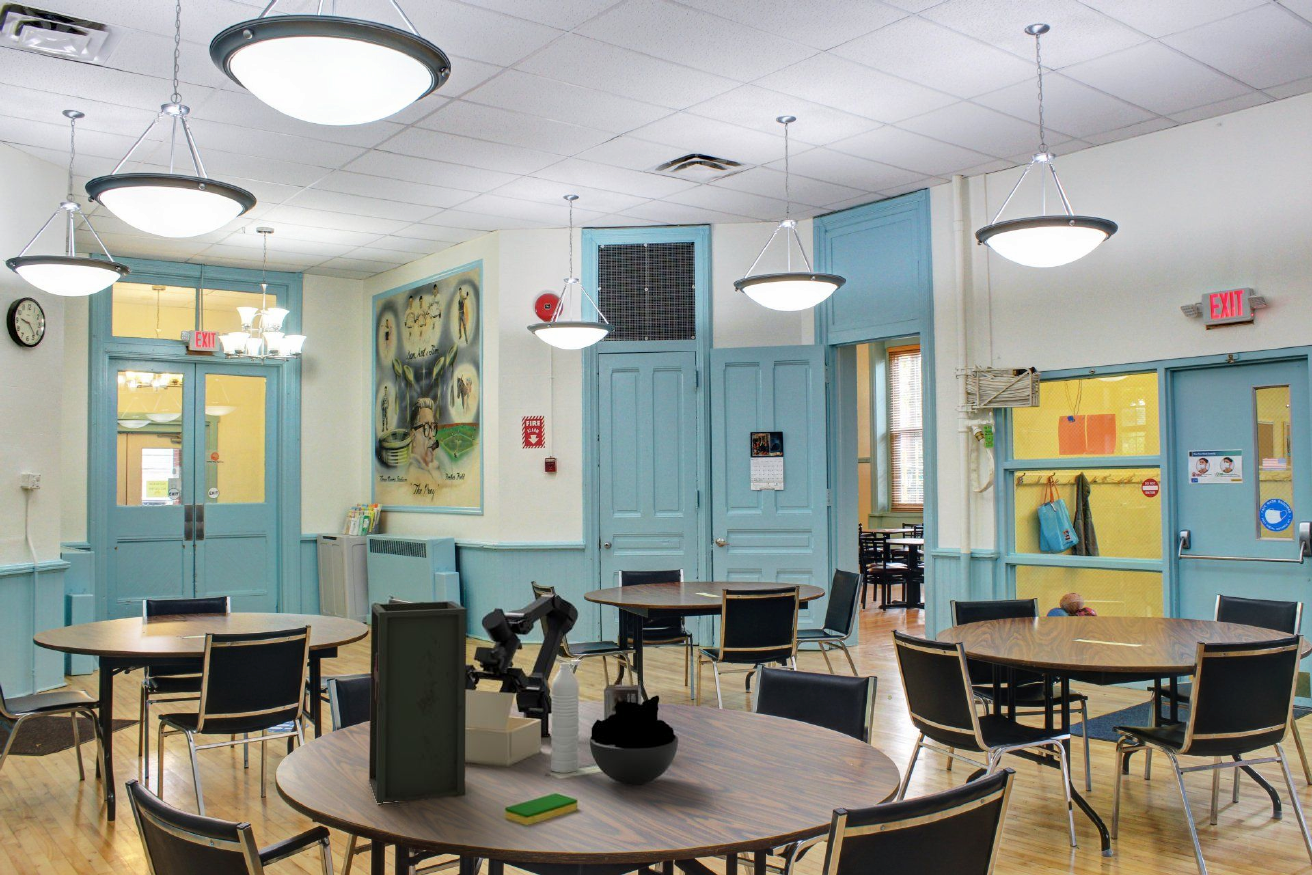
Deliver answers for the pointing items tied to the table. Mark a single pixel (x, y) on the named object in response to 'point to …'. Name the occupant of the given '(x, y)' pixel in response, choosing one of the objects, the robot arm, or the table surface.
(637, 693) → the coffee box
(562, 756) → the water bottle
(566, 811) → the dish sponge
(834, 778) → the table surface
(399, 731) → the dark green square bin
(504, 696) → the far flap
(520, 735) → the carton
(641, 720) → the bowl of black rocks
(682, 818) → the table surface
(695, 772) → the table surface
